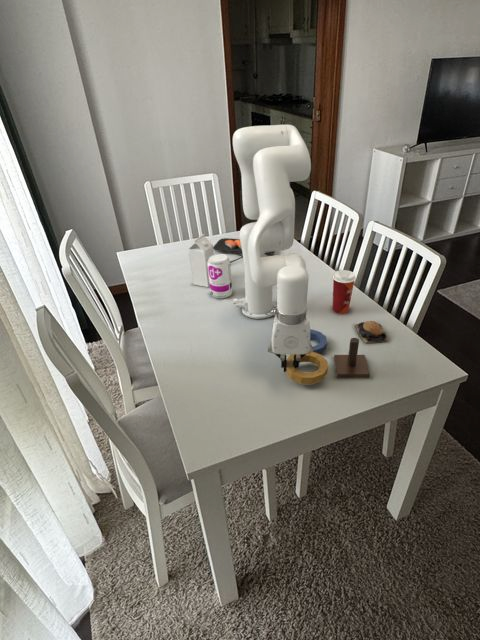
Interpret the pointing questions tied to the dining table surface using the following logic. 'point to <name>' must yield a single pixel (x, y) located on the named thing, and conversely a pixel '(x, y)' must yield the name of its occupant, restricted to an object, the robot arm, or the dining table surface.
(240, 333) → the dining table surface
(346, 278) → the paper cup
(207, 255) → the milk carton
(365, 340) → the bun on tray
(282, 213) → the robot arm
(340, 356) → the stand
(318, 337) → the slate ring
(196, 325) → the dining table surface
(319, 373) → the brass ring
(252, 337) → the dining table surface
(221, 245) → the sushi plate
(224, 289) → the supplement can
